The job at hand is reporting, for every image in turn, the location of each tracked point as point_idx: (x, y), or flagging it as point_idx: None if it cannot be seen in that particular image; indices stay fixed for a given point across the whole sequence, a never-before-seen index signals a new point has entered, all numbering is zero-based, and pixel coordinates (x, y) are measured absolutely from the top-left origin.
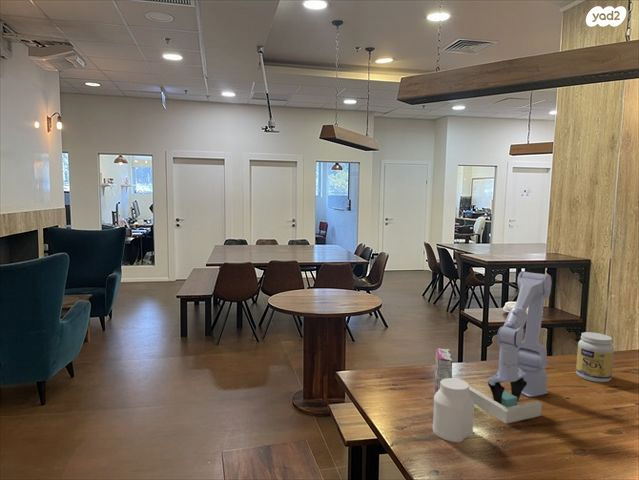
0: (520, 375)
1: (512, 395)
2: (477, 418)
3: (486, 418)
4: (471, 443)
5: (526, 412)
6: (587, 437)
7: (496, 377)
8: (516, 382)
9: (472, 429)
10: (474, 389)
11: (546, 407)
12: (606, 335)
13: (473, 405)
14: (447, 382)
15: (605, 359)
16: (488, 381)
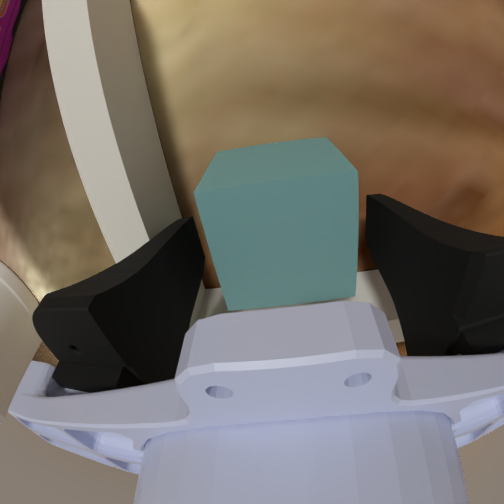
0: (476, 431)
1: (346, 262)
2: (74, 251)
3: (113, 259)
4: (47, 350)
5: None
6: None
7: (89, 451)
8: (432, 346)
9: (39, 345)
10: (85, 33)
11: (497, 231)
12: None
13: (6, 411)
14: None
15: None
16: (25, 377)
